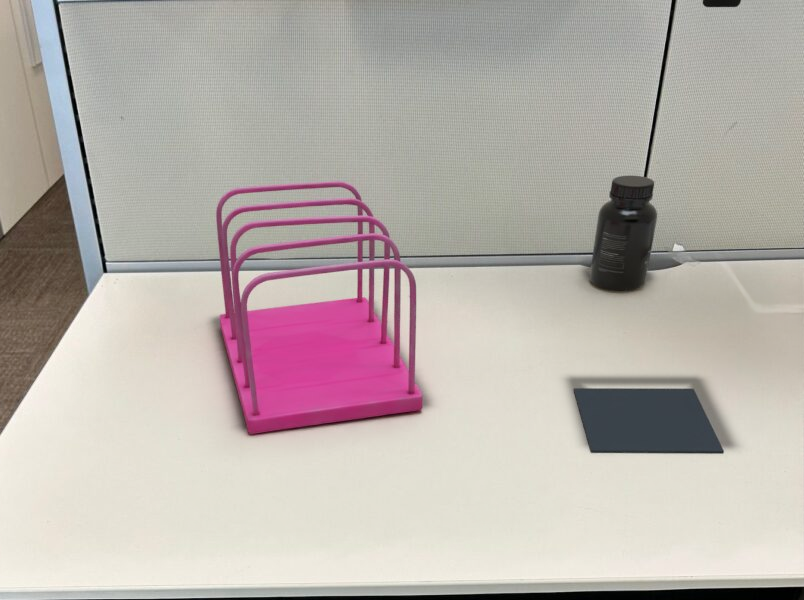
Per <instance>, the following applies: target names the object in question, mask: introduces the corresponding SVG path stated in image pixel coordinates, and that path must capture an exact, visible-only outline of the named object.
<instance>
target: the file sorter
mask: <svg viewBox="0 0 804 600" xmlns="http://www.w3.org/2000/svg"><path fill="white" fill-rule="evenodd" d="M330 188H343V189H346V190H348V191H349V192H351V193H352V195H353V196H354V198H352V197H344V198H343V197H340V198H327V199H323V198H322V199H309V200H295V201H284V202H283V201H282V202H271V203H269V202H268V203H257V204H248V205H242V206H238V207H236V208H234V209H233V210H231V211H230V212H229V213H228V214H227V216H226V217H225V218H224V220H223V219H222V217H223V216H222V212H223V208H224V205H225V204H226V202H227V201H228V200H229V199H230V198H232V197H234V196H236V195H243V194H252V193H253V194H254V193H264V192H279V191H281V192H282V191H295V190H309V189H311V190H312V189H313V190H314V189H330ZM343 205H350V206H356V209H357V215H337V216H335V215H333V216H312V217H293V218H277V219H275V218H274V219H262V220H260V219H259V220H254V221H253V220H252V221H249V222H247V223H245V224H243V225H242V226H240V227H239V229H237V230H236V231H235V233H234V235H233V236H232V238H231V240H230V253H229V246H228V245H229V244H228V228H229V226H230V224H231V221H232V220H233V219H234V218H235V217H237V216H238V215H241V214H243V213H249V212H260V211H271V210H282V209H284V210H285V209H296V208H307V207H324V206H343ZM215 212H216V213H215V220H216V232H217V242H218V254H219V260H220V261H219V262H220V272H221V273H220V275H221V284H222V293H223V302H224V312H225V313H222V314H219V316H218V317H219V326H220V327H219V328H220V331H221V334H222V338H223V341H224V345H225V348H226V353H227V356H228V357H227V358H228V361H229V364H230V367H231V371H232V375H233V379H234V382H235V386H236V389H237V395H238V398H239V401H240V406H241V409H242V413H243V416H244V417H243V418H244V420H245V424H246V428H247V432H248V434H251V435H253V434H259V433H260V434H261V433H267V432H272V431H280V430H287V429H295V428H301V427H309V426H316V425H323V424H328V423H336V422H337V423H338V422H345V421H351V420H359V419H366V418H372V417H380V416H387V415H395V414H401V413H407V412H408V413H409V412H415V411H421V410H423V393H422V392H421V390H420V388H419V386H418V385H417V383H416V381H415V380H416V377H415V376H416V346H417V345H416V343H417V342H416V341H417V340H416V339H417V283H416V278H415V275H414V273H413V272H412V270H411V269H410V268H409V267H408V266H407V265H406V264H405V263H403V262H401V255H400V250H399V248H398V246H397V244H396V243H395V242H394V241H393V240H392V239H391V237H390V233H389V230H388V229H387V227H386V226H385V224H384V223H383V222H382V221H381V220H380V219H378V218H376V217H374V214H373V212H372V210H371V208H370V207H369V205H367V204H366V202H363V200H362V196H361V194H360V193H359V191H358V190H357V188H355V186H353V185H352V184H350V183H348V182H345V181H341V180H333V181H316V182H298V183H297V182H295V183H282V184H268V185H267V184H266V185H255V186H243V187H235V188H233V189H230V190H228V191H227V192H225V193H224V194H223V195H222V197H221V198H219V200H218V203H217V206H216V211H215ZM364 212H365V213H366V215H365V214H364ZM342 223H343V224H344V223H357V234H349V235H339V236H330V237H320V238H312V239H302V240H296V241H295V240H294V241H285V242H278V243H269V244H262V245H261V244H260V245H256V246H253V247H250V248H247V250H245V251H243V252H242V253H241V254H239V256H238V257H237V245H238V242H239V240H240V239H241V237H242V236H243V235H244V234H245V233H247V232H248V231H250V230H252V229H258V228H259V229H260V228H271V227H272V228H273V227H285V226H301V225H320V224H321V225H322V224H342ZM364 223H368V233H364ZM375 226H376V227H377V228H378V229H379V230H380V231H381V233H376V230H375V228H376V227H375ZM365 241H366V242H367V241H368V260H366V261H363V256H364V251H363V249H364V242H365ZM376 241H379V242H383V245H384V246H383V247H384V248H383V259H376V260H375V258H376V257H375V256H376V255H375V253H376V252H375V250H376V247H375V246H376ZM356 242H357V261H355V262H347V263H338V264H330V265H329V264H328V265H320V266H312V267H303V268H296V269H288V270H280V271H272V272H271V271H270V272H266V273H263V274H260V275H258V276H256V277H254V278H253V279H251V280H250V282H249V283H247V285H246V286H245V287H244V290H243V291H242V294H241V291H240V281H239V273H240V270H241V267H242V265H243V263H244V262H245V261H246V260H247V259H248V258H250V257H253V256H254V255H257V254H262V253H263V254H264V253H269V252H271V253H272V252H278V251H285V250H286V251H287V250H294V249H302V248H303V249H304V248H311V247H319V246H320V247H321V246H328V245H329V246H330V245H338V244H340V245H341V244H348V243H356ZM391 251H392V253H393V254H392V255H393V259H391ZM229 254H230V256H229ZM229 257H230V258H229ZM391 267H392V268H393V269H394V270H393V271H394V281H393V283H394V289H393V290H394V294H393V295H394V297H393V299H394V301H393V302H394V304H393V305H394V307H393V309H394V310H393V321H394V322H393V335H394V336H393V342H392V340H391V337H390V336H389V335H388V316H389V315H388V313H389V293H390V292H389V291H390V268H391ZM375 268H383V276H382V299H381V301H382V302H381V303H382V305H381V320H380V319H379V317H378V316H377V314H376V313H375ZM363 269H364V270H365V269H368V299H367V298H366V297H365V296H363V272H364V271H363ZM356 270H357V291H356V293H357V294H356V296H357V297H352V298H343V299H336V300H327V301H326V300H325V301H319V302H311V303H310V302H309V303H303V304H294V305H285V306H277V307H270V308H260V309H253V310H248V299H249V297H250V295H251V293H252V291H253V290H254V289H255V288H256V287H258V285H260V284H263V283H264V282H269V281H275V280H283V279H289V278H298V277H305V276H314V275H323V274H330V273H338V272H347V271H356ZM401 271H402V272H403V273H404V274H405V275H406V276H407V278H408V286H409V331H408V332H409V336H408V337H409V338H408V342H409V343H408V367H407V365H406V364H405V362H404V360H403V359H402V357H401V355H400V354H401V297H402V296H401V291H402V290H401V287H402V284H401V282H402V281H401V280H402V279H401V277H402V274H401V273H402V272H401Z"/></svg>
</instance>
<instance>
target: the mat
mask: <svg viewBox="0 0 804 600" xmlns="http://www.w3.org/2000/svg"><path fill="white" fill-rule="evenodd" d="M573 393H574V397H575V400H576V404H577V407H578V410H579V414H580V418H581V421H582V425H583V428H584V432H585V435H586V440H587V443H588V446H589V450H590V453H654V454H655V453H656V454H657V453H660V454H661V453H663V454H665V453H667V454H668V453H669V454H670V453H671V454H673V453H674V454H677V453H678V454H679V453H680V454H681V453H682V454H685V453H686V454H724V453H725V450H724V449H723V447H722V444H721V442H720V440H719V438H718V436H717V434H716V432H715V430H714V428H713V425H712V423H711V422H710V420H709V416H708V415H707V413H706V411H705V409H704V407H703V405H702V403H701V400H700V398H699V397H698V395H697V393H696V391H695V388H684V387H683V388H676V387H675V388H669V387H668V388H667V387H666V388H664V387H663V388H652V387H651V388H647V387H646V388H643V387H642V388H641V387H639V388H633V387H632V388H631V387H630V388H629V387H627V388H624V387H623V388H622V387H621V388H619V387H618V388H615V387H613V388H612V387H611V388H610V387H607V388H606V387H603V388H602V387H601V388H600V387H599V388H597V387H595V388H594V387H593V388H592V387H589V388H588V387H587V388H586V387H583V388H582V387H577V388H575V387H574V388H573Z"/></svg>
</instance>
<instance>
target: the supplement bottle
mask: <svg viewBox="0 0 804 600" xmlns="http://www.w3.org/2000/svg"><path fill="white" fill-rule="evenodd" d="M654 188H655V181H654V180H653V179H651V178H650V177H646V176H641V175H621V176H617V177H614V178H613V179H612V180H611V186H610V190H609V193H608V196H609V199H610V200H608V201H607V202H605V203H604V204H602V206H601V207H600V209H599V211H598V215H597V221H596V228H595V236H594V243H593V250H592V257H591V264H590V271H589V280H590V282H591V284H592V285H593V286H595V287H597V288H599V289H601V290H605V291H609V292H617V293H618V292H633V291H636V290H638V289H640V288H641V287H643V286H644V285H645V283H646V280H647V275H648V270H649V265H650V259H651V254H652V248H653V243H654V237H655V232H656V227H657V221H658V211H657V209H656V207H655V206H654V205H653V204H652V203H650V201H652V200H653V197H654Z"/></svg>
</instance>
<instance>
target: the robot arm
mask: <svg viewBox="0 0 804 600" xmlns="http://www.w3.org/2000/svg"><path fill="white" fill-rule="evenodd" d="M741 2H742V0H702V6H704V7H705V8H737V7H738V6H740V4H741Z"/></svg>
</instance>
